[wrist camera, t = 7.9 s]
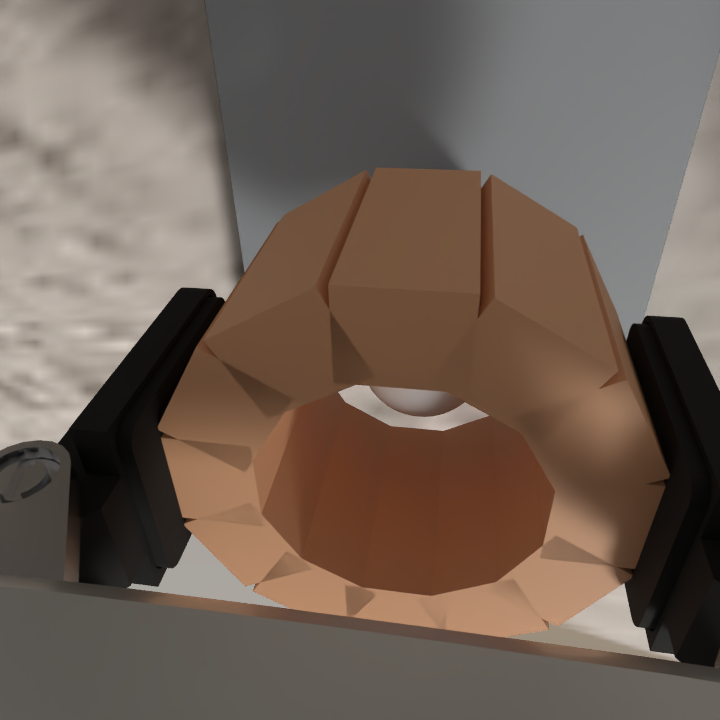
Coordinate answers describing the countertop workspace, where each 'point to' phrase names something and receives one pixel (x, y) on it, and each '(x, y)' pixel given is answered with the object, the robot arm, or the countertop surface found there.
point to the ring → (409, 445)
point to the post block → (471, 113)
